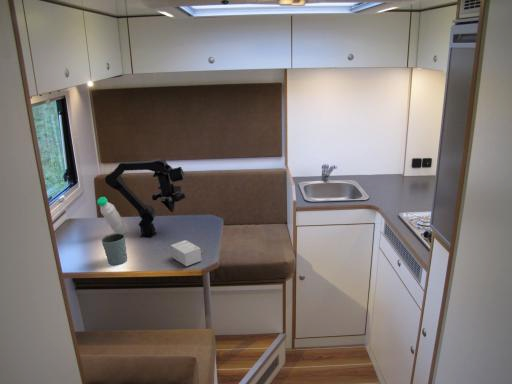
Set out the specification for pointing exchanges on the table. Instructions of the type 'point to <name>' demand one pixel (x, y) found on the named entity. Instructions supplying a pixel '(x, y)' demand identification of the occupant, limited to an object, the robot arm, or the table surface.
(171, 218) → the table surface
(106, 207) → the water bottle
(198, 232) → the table surface
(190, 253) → the small box
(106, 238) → the green cup
